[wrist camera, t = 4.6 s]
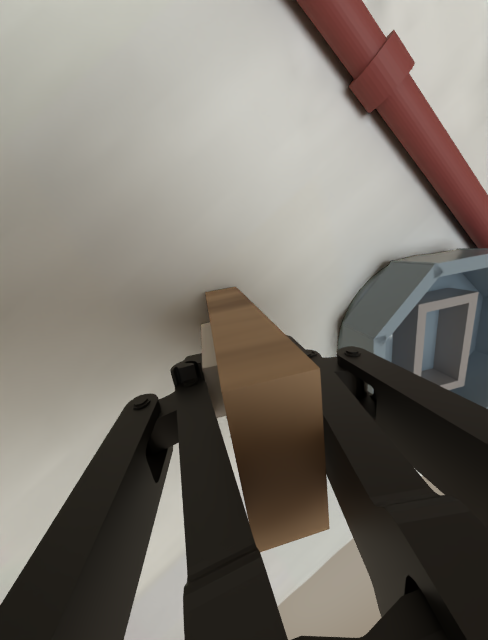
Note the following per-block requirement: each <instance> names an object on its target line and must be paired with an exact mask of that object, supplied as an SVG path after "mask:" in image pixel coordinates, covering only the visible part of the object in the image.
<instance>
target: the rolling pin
mask: <svg viewBox="0 0 488 640" xmlns="http://www.w3.org/2000/svg"><path fill="white" fill-rule="evenodd" d="M296 1H297V2H298V3H299V5H300V6H301V8H302V9H303V10H304V12H305V13H306V14H307V16H308V17H309V18H310V20H311V21H312V23H313V24H314V25H315V27H316V28H317V29H318V31H319V32H320V33H321V35H322V36H323V38H324V39H325V40H326V42H327V43H328V44H329V46H330V47H331V48H332V50H333V51H334V52H335V54H336V55H337V57H338V58H339V59H340V61H341V62H342V63H343V65H344V66H345V67H346V69H347V70H348V72H349V73H350V74H351V76H352V77H353V78H354V79H353V81H352V82H351V84H350V85H349V88H350V89H351V91H352V92H353V93H354V95H355V96H356V97H357V99H358V100H359V101H360V103H361V104H362V105H363V107H364V108H365V109H366V111H367V112H368V113H370V112H372V111H373V110H374V109H376V110H377V111H378V112H379V114H380V115H381V116H382V118H383V119H384V121H385V122H386V123H387V125H388V126H389V127H390V129H391V130H392V131H393V133H394V134H395V135H396V137H397V138H398V140H399V141H400V142H401V144H402V145H403V146H404V148H405V149H406V150H407V152H408V153H409V155H410V156H411V157H412V159H413V160H414V161H415V163H416V164H417V165H418V167H419V168H420V170H421V171H422V172H423V174H424V175H425V176H426V178H427V179H428V180H429V182H430V183H431V184H432V186H433V187H434V189H435V190H436V191H437V193H438V194H439V195H440V197H441V198H442V199H443V201H444V202H445V204H446V205H447V206H448V208H449V209H450V210H451V212H452V213H453V214H454V216H455V217H456V219H457V220H458V221H459V223H460V224H461V225H462V227H463V228H464V229H465V231H466V232H467V233H468V235H469V236H470V238H471V239H472V240H473V242H474V243H475V244H476V246H477V247H478V248H488V195H487V193H486V192H485V190H484V189H483V187H482V186H481V184H480V182H479V181H478V179H477V178H476V176H475V175H474V173H473V172H472V170H471V169H470V167H469V165H468V164H467V162H466V161H465V159H464V158H463V156H462V155H461V153H460V152H459V150H458V148H457V147H456V145H455V144H454V142H453V141H452V139H451V138H450V136H449V134H448V133H447V131H446V130H445V128H444V127H443V125H442V124H441V122H440V121H439V119H438V117H437V116H436V114H435V113H434V111H433V110H432V108H431V107H430V105H429V104H428V102H427V100H426V99H425V97H424V96H423V94H422V93H421V91H420V90H419V88H418V87H417V85H416V83H415V82H414V80H413V79H412V77H411V76H410V74H409V72H410V70H411V69H412V67H413V66H414V64H415V62H414V61H413V59H412V57H411V56H410V54H409V53H408V51H407V49H406V48H405V46H404V45H403V43H402V42H401V40H400V38H399V37H398V35H397V34H396V32H395V30H393V31H392V32H391V33H390V34H389V35H388V36H387V37H385V35H384V34H383V32H382V31H381V29H380V28H379V26H378V25H377V23H376V22H375V20H374V18H373V17H372V15H371V14H370V12H369V11H368V9H367V8H366V6H365V4H364V3H363V1H362V0H296Z"/></svg>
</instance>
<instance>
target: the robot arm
mask: <svg viewBox="0 0 488 640" xmlns="http://www.w3.org/2000/svg"><path fill="white" fill-rule="evenodd" d="M286 336H287V337H288V338H289V339H290V340H291V341H292V342H293V343H294V344H295V345H296V346H298V347H299V348H300V349H301V350H302V351H303V352H304V353H305V354H306V355H307V356H308V357H309V358H310V359H311V360H312V361H313V362H314V363H315V364H316V365H317V366H318V367H319V368H320V376H321V393H322V411H323V428H324V445H325V462H326V474H327V477H328V479H329V481H330V484H331V486H332V489H333V491H334V493H335V496H336V498H337V500H338V503H339V505H340V507H341V510H342V512H343V514H344V517H345V519H346V521H347V524H348V526H349V529H350V531H351V533H352V536H353V538H354V540H355V542H356V545H357V547H358V550H359V552H360V554H361V557H362V559H363V562H364V564H365V566H366V568H367V571H368V573H369V576H370V579H371V581H372V584H373V587H374V591H375V595H376V599H377V603H378V607H379V611H380V614H381V617H382V618H381V619H380V620H379V621H378V622H377V623H376V624H375V626H374V627H373V628H372V629H371V630H370V631H369V632H368V633H367V634H366V635H365V636H363V637H360V638H342V637H341V638H340V637H316V636H300V637H297V638H295V639H292V640H488V409H486V408H484V407H482V406H480V405H478V404H476V403H474V402H472V401H470V400H468V399H466V398H464V397H462V396H460V395H458V394H456V393H454V392H451V391H449V390H447V389H445V388H443V387H441V386H439V385H437V384H435V383H433V382H431V381H429V380H427V379H425V378H423V377H421V376H418V375H416V374H414V373H412V372H410V371H408V370H406V369H404V368H402V367H400V366H398V365H396V364H394V363H392V362H390V361H388V360H385V359H383V358H381V357H379V356H377V355H375V354H373V353H371V352H369V351H367V350H365V349H362V348H359V347H355V346H351V347H350V346H347V347H343V348H340V349H339V350H338V351H337V357H331V358H322V357H321V355H320V354H319V353H318V352H316V351H313V350H305V349H304V348H303V347H302V346H301V345H300V344H298V342H296V341H295V340H294V339H293V338H292V337H291V336H288V335H286ZM201 345H202V353H201V354H196V355H192V356H187V357H186V358H185V359H184V361H182V362H179V363H177V364H176V365H174V366H173V367H172V368H171V375H172V378H173V382H174V385H175V392H173V393H172V394H170V395H168V396H166V397H164V398H162V399H158V397H157V396H156V395H155V394H144V395H140V396H138V397H136V398H134V399H133V400H131V401H130V402H129V403H128V404H127V405H126V406H125V408H124V409H123V411H122V412H121V414H120V416H119V417H118V419H117V420H116V422H115V424H114V425H113V427H112V428H111V430H110V432H109V433H108V435H107V436H106V438H105V440H104V441H103V443H102V444H101V446H100V447H99V449H98V451H97V452H96V454H95V455H94V457H93V459H92V460H91V462H90V463H89V465H88V467H87V468H86V470H85V471H84V473H83V475H82V476H81V478H80V479H79V481H78V483H77V484H76V486H75V487H74V489H73V491H72V492H71V494H70V495H69V497H68V498H67V500H66V502H65V503H64V505H63V506H62V508H61V510H60V511H59V513H58V514H57V516H56V518H55V519H54V521H53V522H52V524H51V526H50V527H49V529H48V530H47V532H46V534H45V535H44V537H43V538H42V540H41V541H40V543H39V545H38V546H37V548H36V549H35V551H34V553H33V554H32V556H31V557H30V559H29V561H28V562H27V564H26V565H25V567H24V569H23V570H22V572H21V573H20V575H19V577H18V578H17V580H16V581H15V583H14V584H13V586H12V588H11V589H10V591H9V592H8V594H7V596H6V597H5V599H4V600H3V602H2V604H1V605H0V640H124V636H125V632H126V628H127V624H128V620H129V617H130V613H131V609H132V605H133V601H134V597H135V594H136V590H137V586H138V582H139V578H140V574H141V571H142V567H143V563H144V559H145V555H146V551H147V548H148V544H149V540H150V536H151V532H152V528H153V525H154V521H155V517H156V513H157V509H158V505H159V502H160V498H161V494H162V490H163V486H164V482H165V479H166V475H167V471H168V467H169V463H170V459H171V456H172V452H173V445H175V444H176V443H178V442H179V454H180V468H181V483H182V498H183V513H184V528H185V542H186V557H187V575H188V577H187V583H186V585H185V586H184V594H183V612H184V634H185V640H288V639H287V636H286V632H285V629H284V626H283V623H282V620H281V617H280V613H279V610H278V607H277V604H276V601H275V598H274V594H273V591H272V588H271V585H270V582H269V579H268V575H267V572H266V569H265V566H264V563H263V560H262V557H261V554H260V552H259V549H258V548H257V546H256V544H255V541H254V537H253V534H252V531H251V528H250V525H249V521H248V518H247V515H246V512H245V508H244V505H243V502H242V499H241V496H240V492H239V489H238V486H237V483H236V479H235V476H234V473H233V470H232V466H231V463H230V460H229V457H228V454H227V450H226V447H225V444H224V441H223V437H222V434H221V431H220V428H219V424H218V421H217V418H218V417H222V416H226V411H225V406H224V402H223V397H222V392H221V386H220V380H219V374H218V368H217V362H216V355H215V349H214V343H213V337H212V331H211V325H210V323H205V324H201ZM368 384H369V385H370V386H371V387H372V388H373V394H372V393H370V392H369V391H368ZM413 467H414V468H415V469H416V470H417V471H418V472H419V473H421V474H422V475H423V476H424V477H425V478H427V479H428V480H429V481H430V482H431V483H432V484H433V485H434V486H436V487H437V488H438V489H439V490H440V491H441V492H442V493H444V494H445V495H442V496H440V495H438V494H437V493H435V492H434V491H433V490H432V489H431V488H430V487H429V486H428V484H427V483H426V482H425V481H424V480H423V479H422V477H421V476H420V475H419V474H418V472H417V471H416V470H415V469H414V468H413Z"/></svg>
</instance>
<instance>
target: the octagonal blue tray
mask: <svg viewBox="0 0 488 640" xmlns="http://www.w3.org/2000/svg"><path fill="white" fill-rule="evenodd" d="M347 346H350V347H351V346H355V347H359V348H362V349H365V350H367V351H369V352H371V353H373V354H375V355H377V356H379V357H381V358H383V359H385V360H388V361H390V362H392V363H394V364H396V365H398V366H400V367H402V368H404V369H406V370H408V371H410V372H412V373H414V374H416V375H418V376H421V377H423V378H425V379H427V380H429V381H431V382H433V383H435V384H437V385H439V386H441V387H443V388H445V389H447V390H449V391H451V392H454V393H456V394H458V395H460V396H462V397H464V398H466V399H468V400H470V401H472V402H474V403H476V404H478V405H480V406H482V407H484V408H486V409H488V248H472V249H456V250H451V251H445V252H440V253H435V254H421V255H414V256H410V257H406V258H403V259H401V260H397V261H391V262H390V264H389V265H388V266H387V267H385V268H384V269H382V270H381V271H380V272H378V273H377V274H375V275H374V276H373V277H372V278H371V279H370V280H369V281H368V282H367V283H366V284H365V285H364V286H363V287H362V289H361V290H360V291H359V292H358V294H357V295H356V296H355V298H354V299H353V301H352V303H351V304H350V306H349V308H348V310H347V312H346V314H345V317H344V319H343V321H342V325H341V328H340V332H339V338H338V350H339V349H340V348H343V347H347ZM368 391H369V392H370V393H372V394H373V388H372V387H371V386H370V385H369V384H368Z"/></svg>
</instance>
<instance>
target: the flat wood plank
mask: <svg viewBox="0 0 488 640" xmlns="http://www.w3.org/2000/svg"><path fill="white" fill-rule="evenodd" d="M205 294H206V300H207V307H208V313H209V319H210V325H211V331H212V337H213V343H214V349H215V355H216V362H217V368H218V374H219V380H220V386H221V392H222V397H223V402H224V406H225V411H226V416H227V420H228V425H229V430H230V435H231V439H232V444H233V449H234V453H235V458H236V463H237V467H238V472H239V477H240V482H241V486H242V491H243V496H244V500H245V505H246V510H247V515H248V519H249V524H250V528H251V531H252V534H253V537H254V541H255V544H256V546H257V548H258V549H259V552H262V551H265V550H268V549H271V548H274V547H277V546H280V545H283V544H286V543H289V542H292V541H295V540H298V539H301V538H304V537H307V536H310V535H313V534H316V533H318V532H321V531H324V530H327V529H329V513H328V496H327V479H326V462H325V445H324V428H323V411H322V393H321V376H320V368H319V367H318V366H317V365H316V364H315V363H314V362H313V361H312V360H311V359H310V358H309V357H308V356H307V355H306V354H305V353H304V352H303V351H302V350H301V349H300V348H299V347H298V346H296V345H295V344H294V343H293V342H292V341H291V340H290V339H289V338H288V337H287V336H286V335H285V334H284V333H283V332H282V331H281V330H280V329H279V328H278V327H277V326H276V325H275V324H274V323H273V322H272V321H271V320H270V319H269V318H268V317H267V316H266V315H265V314H263V313H262V312H261V311H260V310H259V309H258V308H257V307H256V306H255V305H254V304H253V303H252V302H251V301H250V300H249V299H248V298H247V297H246V296H245V295H244V294H243V293H242V292H241V291H240V290H239V289H238V288H237V287H231V288H226V289H221V290H215V291H210V292H205Z"/></svg>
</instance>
